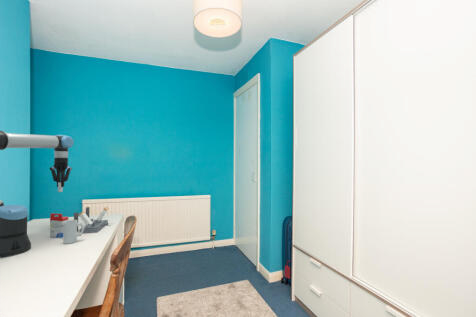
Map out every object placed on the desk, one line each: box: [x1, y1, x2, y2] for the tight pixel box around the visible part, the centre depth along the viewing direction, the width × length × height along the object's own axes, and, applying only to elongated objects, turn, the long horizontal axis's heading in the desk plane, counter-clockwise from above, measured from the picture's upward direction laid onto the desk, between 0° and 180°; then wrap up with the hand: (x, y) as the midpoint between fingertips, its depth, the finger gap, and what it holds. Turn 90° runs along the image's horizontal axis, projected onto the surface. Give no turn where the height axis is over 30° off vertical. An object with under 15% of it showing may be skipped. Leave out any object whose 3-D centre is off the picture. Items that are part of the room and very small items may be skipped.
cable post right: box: [85, 206, 94, 221], centre depth 174 cm, size 11×2×12 cm, turn 13°
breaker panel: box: [79, 219, 109, 234], centre depth 158 cm, size 21×10×5 cm, turn 13°
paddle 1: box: [78, 211, 93, 226], centre depth 151 cm, size 4×2×10 cm
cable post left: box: [73, 212, 79, 232], centre depth 150 cm, size 7×2×12 cm, turn 13°
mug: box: [62, 219, 85, 245], centre depth 132 cm, size 10×7×12 cm, turn 118°
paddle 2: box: [96, 206, 109, 222], centre depth 164 cm, size 4×2×10 cm
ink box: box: [49, 213, 69, 239], centre depth 141 cm, size 8×5×15 cm, turn 84°
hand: (60, 191), depth 156 cm, fingers closed
